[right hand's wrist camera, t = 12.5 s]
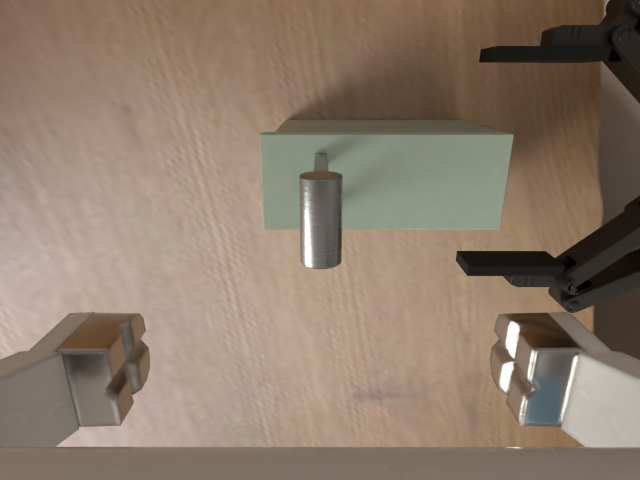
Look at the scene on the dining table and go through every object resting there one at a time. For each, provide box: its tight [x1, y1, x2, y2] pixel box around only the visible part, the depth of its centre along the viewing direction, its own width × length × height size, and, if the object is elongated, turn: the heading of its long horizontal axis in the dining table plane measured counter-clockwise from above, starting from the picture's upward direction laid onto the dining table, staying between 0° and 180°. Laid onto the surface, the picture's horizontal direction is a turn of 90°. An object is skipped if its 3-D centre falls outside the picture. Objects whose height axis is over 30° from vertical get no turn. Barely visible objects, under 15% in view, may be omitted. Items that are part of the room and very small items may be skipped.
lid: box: [259, 132, 514, 269], centre depth 22 cm, size 14×6×9 cm, turn 90°
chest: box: [276, 120, 503, 132], centre depth 31 cm, size 14×6×9 cm, turn 90°
